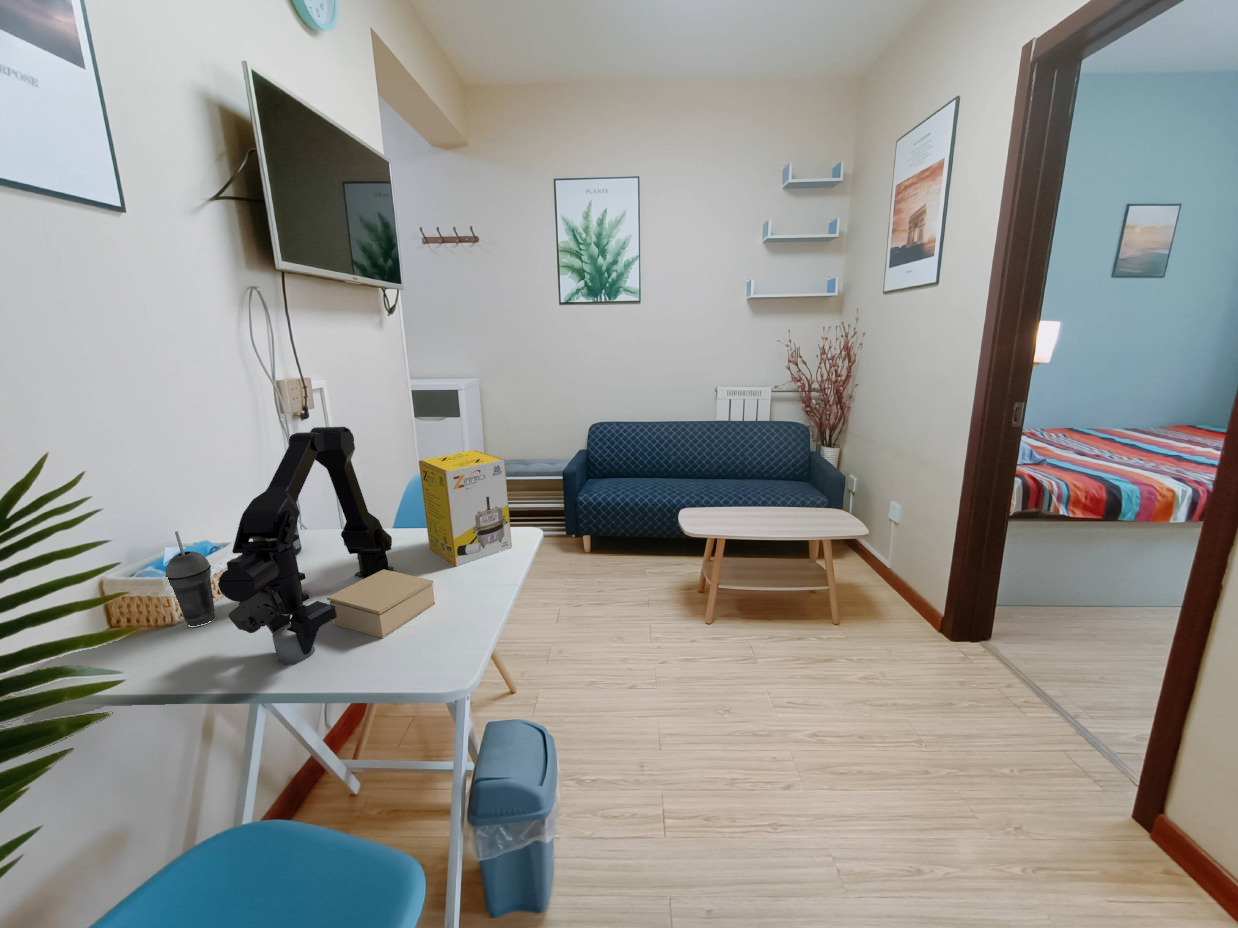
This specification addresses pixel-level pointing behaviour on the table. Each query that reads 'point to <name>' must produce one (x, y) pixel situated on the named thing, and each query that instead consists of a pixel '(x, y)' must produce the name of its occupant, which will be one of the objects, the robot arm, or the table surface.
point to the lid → (380, 591)
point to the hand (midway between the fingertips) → (295, 649)
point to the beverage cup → (191, 585)
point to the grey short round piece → (288, 647)
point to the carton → (384, 614)
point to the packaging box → (466, 505)
